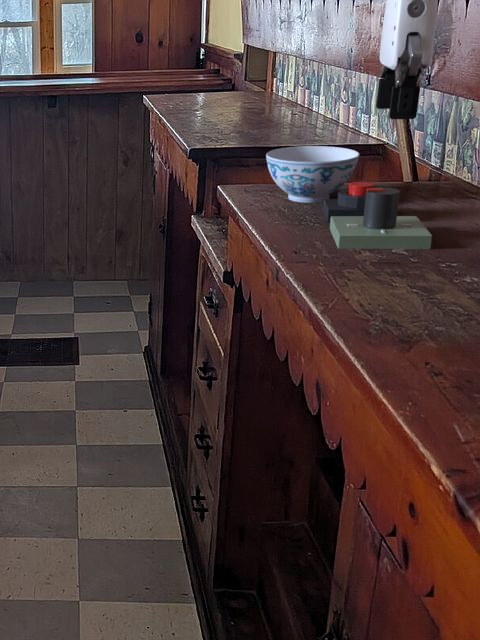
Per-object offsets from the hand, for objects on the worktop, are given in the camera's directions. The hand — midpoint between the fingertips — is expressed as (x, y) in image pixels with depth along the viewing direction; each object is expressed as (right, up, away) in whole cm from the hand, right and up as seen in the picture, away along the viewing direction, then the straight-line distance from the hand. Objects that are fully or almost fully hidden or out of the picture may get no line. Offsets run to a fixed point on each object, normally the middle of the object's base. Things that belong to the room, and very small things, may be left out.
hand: (394, 113), depth 116 cm
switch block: (+4, -11, +21) cm, 24 cm away
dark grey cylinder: (+2, -14, +9) cm, 16 cm away
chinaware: (+1, -5, +35) cm, 35 cm away
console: (+2, -16, +10) cm, 18 cm away
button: (+4, -7, +20) cm, 21 cm away
